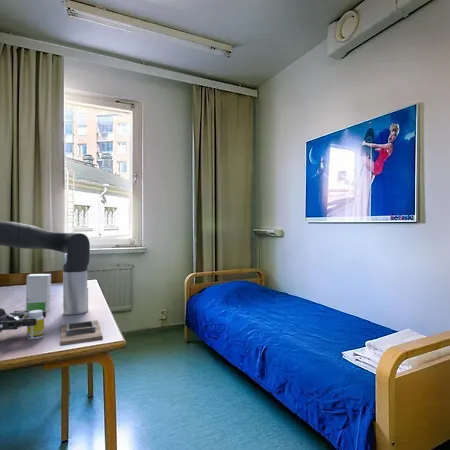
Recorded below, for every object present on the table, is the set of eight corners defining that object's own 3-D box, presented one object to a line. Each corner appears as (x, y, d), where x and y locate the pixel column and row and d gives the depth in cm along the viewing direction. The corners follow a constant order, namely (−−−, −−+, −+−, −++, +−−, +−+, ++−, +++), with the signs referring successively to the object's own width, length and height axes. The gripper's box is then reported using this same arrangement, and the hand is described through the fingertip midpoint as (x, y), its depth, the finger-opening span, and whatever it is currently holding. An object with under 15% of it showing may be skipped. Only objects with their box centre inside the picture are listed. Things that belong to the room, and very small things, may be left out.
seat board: (61, 327, 118) (61, 320, 118) (97, 322, 123) (97, 316, 123) (60, 345, 100) (60, 336, 100) (102, 339, 105) (102, 331, 105)
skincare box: (25, 313, 137) (25, 276, 138) (29, 310, 144) (29, 273, 144) (47, 312, 140) (47, 275, 140) (51, 308, 146) (51, 273, 146)
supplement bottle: (46, 334, 110) (46, 309, 110) (39, 339, 105) (39, 312, 105) (32, 335, 110) (32, 309, 110) (24, 339, 105) (24, 313, 105)
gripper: (-28, 315, 98) (32, 312, 101) (-5, 304, 112) (48, 301, 115) (-28, 340, 98) (33, 336, 101) (-5, 326, 112) (48, 323, 115)
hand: (41, 318), depth 108 cm, fingers open, 8 cm apart
